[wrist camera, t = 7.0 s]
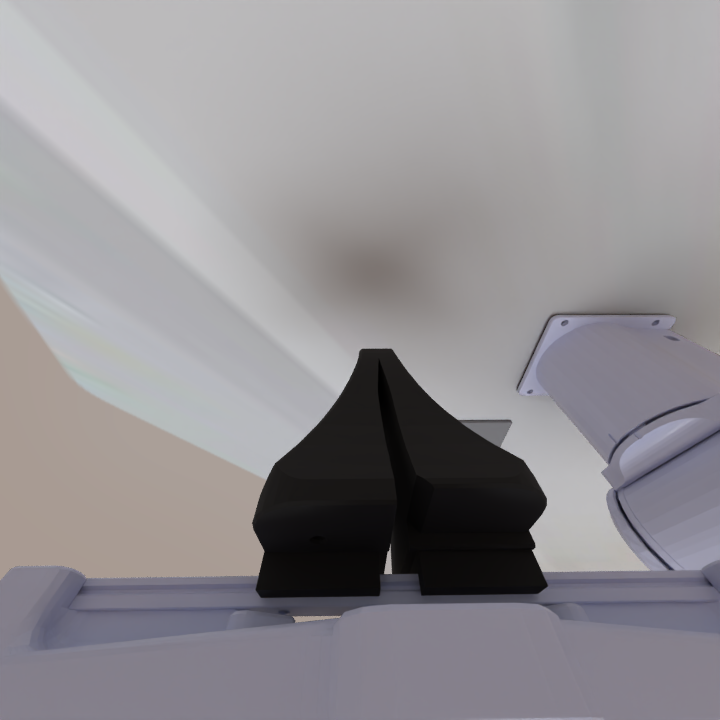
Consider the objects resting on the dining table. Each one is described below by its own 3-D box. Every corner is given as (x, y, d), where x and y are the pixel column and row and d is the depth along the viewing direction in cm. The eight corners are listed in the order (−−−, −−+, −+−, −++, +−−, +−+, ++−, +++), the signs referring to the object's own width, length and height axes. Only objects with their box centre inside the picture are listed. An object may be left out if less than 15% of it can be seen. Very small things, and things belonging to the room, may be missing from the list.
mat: (510, 420, 28) (512, 422, 27) (474, 495, 36) (474, 498, 36) (413, 420, 27) (414, 423, 27) (400, 496, 36) (400, 498, 36)
